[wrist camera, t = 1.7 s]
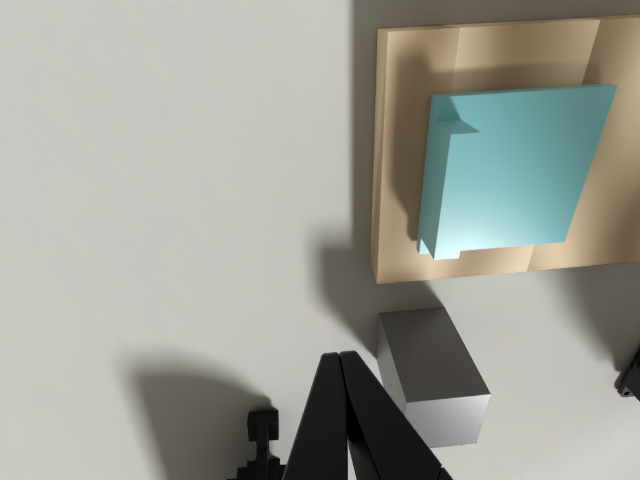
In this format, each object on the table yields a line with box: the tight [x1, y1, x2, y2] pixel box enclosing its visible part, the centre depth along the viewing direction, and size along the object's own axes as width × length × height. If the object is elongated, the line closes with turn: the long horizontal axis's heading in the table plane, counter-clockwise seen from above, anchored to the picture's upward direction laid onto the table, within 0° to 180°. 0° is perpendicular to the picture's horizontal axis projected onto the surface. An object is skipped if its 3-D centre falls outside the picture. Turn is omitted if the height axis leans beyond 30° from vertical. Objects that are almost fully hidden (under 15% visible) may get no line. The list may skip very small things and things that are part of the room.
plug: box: [377, 307, 491, 448], centre depth 25 cm, size 5×5×7 cm
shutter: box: [416, 83, 617, 260], centre depth 18 cm, size 8×8×3 cm
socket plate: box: [370, 14, 640, 284], centre depth 21 cm, size 22×13×2 cm, turn 92°
